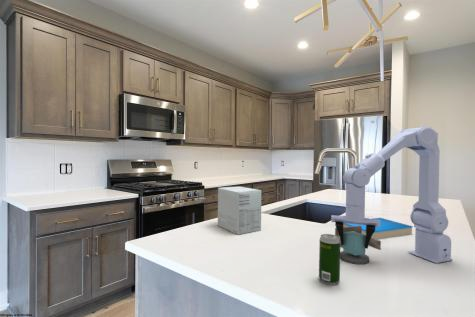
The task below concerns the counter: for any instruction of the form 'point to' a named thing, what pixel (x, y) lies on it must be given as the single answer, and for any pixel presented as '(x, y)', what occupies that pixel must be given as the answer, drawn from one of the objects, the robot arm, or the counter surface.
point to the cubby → (372, 242)
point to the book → (386, 229)
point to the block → (354, 243)
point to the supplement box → (239, 209)
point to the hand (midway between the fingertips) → (354, 245)
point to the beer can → (329, 259)
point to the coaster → (354, 258)
